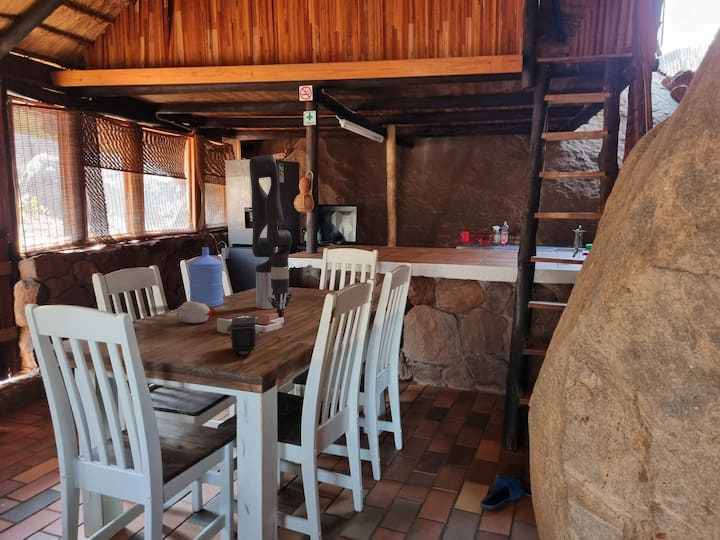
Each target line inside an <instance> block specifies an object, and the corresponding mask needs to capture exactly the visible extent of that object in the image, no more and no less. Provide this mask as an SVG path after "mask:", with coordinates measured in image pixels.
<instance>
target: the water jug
mask: <svg viewBox="0 0 720 540" xmlns="http://www.w3.org/2000/svg"><path fill="white" fill-rule="evenodd" d="M201 249H202V251H201V253H202V254H201V256H199V257H198V258H195V259H194V260H191V261H190V262H189V265H188V273H189V297H190V298H189V301H192V302H202V303H204V304H207V305H208V306H209V308H213V307H214V308H215V307H219V306H222V305H223V304H224V297H223V296H224V290H223V287H224V286H223V268H224V267H223V262H222V261H221V260H220V259H216V258H215V257H212V256H211V255H210V249H209V247H208V246H205V247H201Z"/></svg>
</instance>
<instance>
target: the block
mask: <svg viewBox="0 0 720 540" xmlns="http://www.w3.org/2000/svg"><path fill="white" fill-rule="evenodd" d="M257 317H258V322H257V325H258V324H259V325H260V324H261V325H265V326H267V325H268V321H270V320H274V319H278V313H277V312H271V311H264V312H262V313H258V314H257Z"/></svg>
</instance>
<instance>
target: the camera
mask: <svg viewBox="0 0 720 540" xmlns="http://www.w3.org/2000/svg"><path fill="white" fill-rule="evenodd" d="M231 319H232V323H231V324H229V325H228V324H227V332H230V334H229V336H230V340H231V348H232V351H233V352H238V353H239V355H247V354H249V351H254V350H255V347H256V342H257V340H259V339H260V335H261V334H260V331H256V329H255V325H256V323H255V317H254V316H248V317H247V318H238V317H235V318H234V317H232V318H231Z"/></svg>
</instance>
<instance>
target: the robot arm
mask: <svg viewBox="0 0 720 540" xmlns="http://www.w3.org/2000/svg"><path fill="white" fill-rule="evenodd" d="M248 167H249V177H250V186H251V217H252V218H251V219H252V241H251V242H252V243H251V244H252V245H251V250H252V254H253V256H254V257H255V258H267V260H266V261H265V262H263V263H260V264H259V263H258V264H257V265H256V266H255V290H256V291H255V297H256V299H255V301H256V303H255V304H256V309H261V310H268V309H276V313H278V318H284V315H285V309H286V307H288V305H289V303H290V300H291V299H292V296H293V295H292V294H290V293H289V290H288V289H289V287H290V272H289V271H290V270H289V255H290V251H291V248H292V244H293V237H292V234H291V232H290V231H289V230H287V229H279V226H280V225H282V224H284V222H285V218H284V212H283V207H282V203H281V202H282V201H281V196H280V194H281V193H280V183H279V181H280V180H279V173H278V164H277V161H276V158H275V157H274V156H273V155H272V154H267V155H266V154H265V155H257V156H252V157H250V158H249V166H248ZM264 178H265V179H267V178H270V187H269V191H268V193H267V192H266V191H265V189H263V187H262V185H261V183H260V179H264ZM265 229H266V237H261V235H262V233H263V231H264V230H265ZM277 248H278V250H277Z"/></svg>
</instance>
